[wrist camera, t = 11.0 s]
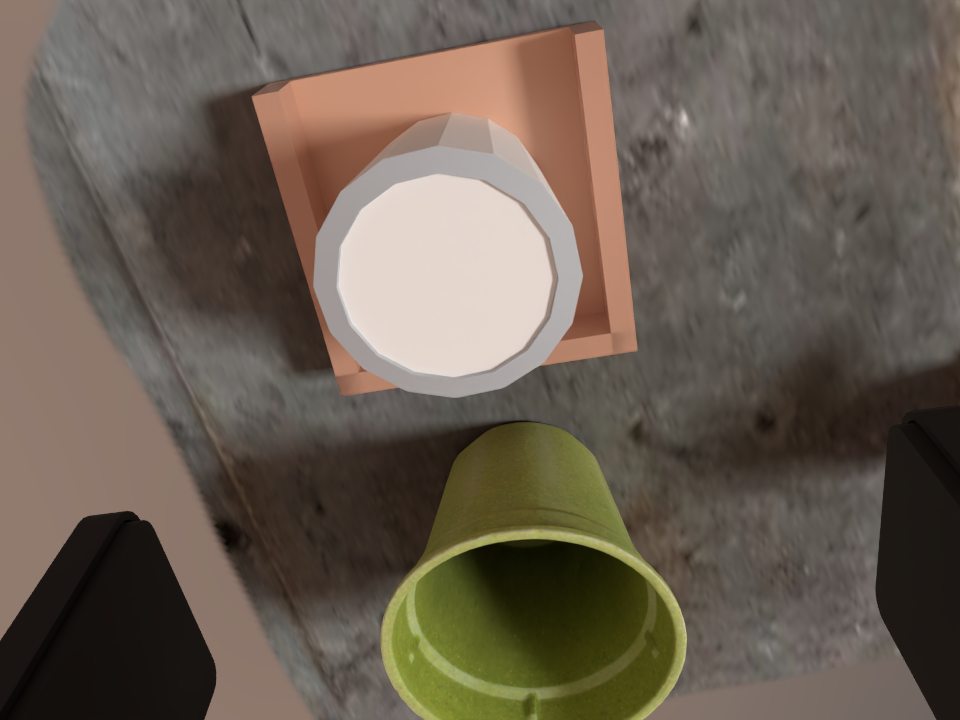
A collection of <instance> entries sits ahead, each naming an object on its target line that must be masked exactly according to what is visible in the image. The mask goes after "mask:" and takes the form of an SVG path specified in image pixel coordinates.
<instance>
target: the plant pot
mask: <svg viewBox="0 0 960 720" xmlns="http://www.w3.org/2000/svg"><path fill="white" fill-rule="evenodd" d="M686 635H687V634H686V628H685V623H684V619H683V616H682V613H681V610H680V607H679V605H678V603H677V601H676V599H675V596H674V595H673V593H672V591H671V590H670V588H669V586H668V585H667V584H666V583H665V581H664V580H663V579H662V577H661V576H660V575H659V574H658V573H657V572H656V571H655V570H654V569H653V568H652V567H651V566H650V565H649V564H648V563H647V562H645V561H644V559H643V558H642V557H641V555H640V554H639V553H638V552H637V551H636V550H635V548H634V546H633V544H632V542H631V539H630V537H629V534H628V532H627V530H626V528H625V525H624V523H623V521H622V518H621V516H620V514H619V511H618V509H617V507H616V504H615V502H614V500H613V497H612V495H611V492H610V490H609V488H608V485H607V483H606V480H605V478H604V476H603V473H602V471H601V469H600V466H599V464H598V462H597V460H596V458H595V457H594V455H593V454H592V453H591V452H590V451H589V450H588V449H587V448H586V447H585V446H584V445H583V444H581V443H580V442H579V441H578V440H577V439H576V438H574V437H573V436H572V435H571V434H570V433H568V432H567V431H564V430H562V429H560V428H558V427H555V426H552V425H547V424H543V423H535V422H517V423H510V424H505V425H501V426H497V427H495V428H492V429H490V430H488V431H486V432H485V433H483V434H482V435H481V436H480V437H479V438H477V439H476V440H475V441H474V442H472V443H471V444H470V445H469V446H468V447H466V448H465V449H464V450H463V451H462V452H460V453H459V455H458V456H457V458H456V459H455V461H454V463H453V466H452V468H451V471H450V474H449V477H448V480H447V483H446V486H445V489H444V493H443V496H442V499H441V502H440V505H439V509H438V512H437V515H436V518H435V521H434V524H433V527H432V531H431V534H430V537H429V540H428V543H427V546H426V549H425V552H424V554H423V555H422V557H421V558H420V559H419V561H418V562H417V564H416V566H415V567H414V568H413V569H412V570H411V571H410V572H409V573H408V574H407V575H406V576H405V577H404V578H403V579H402V581H401V582H400V583H399V585H398V586H397V588H396V589H395V591H394V593H393V595H392V596H391V598H390V600H389V603H388V605H387V608H386V610H385V614H384V617H383V621H382V626H381V635H380V645H381V653H382V659H383V663H384V666H385V669H386V672H387V675H388V678H389V680H390V681H391V683H392V685H393V687H394V688H395V689H396V691H397V692H398V694H399V695H400V697H401V698H402V699H403V701H404V702H405V703H406V704H407V705H408V706H409V707H410V708H411V709H412V710H413V711H414V712H415V713H416V714H417V715H419V716H420V717H421V718H423V719H424V720H643V719H644V718H646V717H647V716H648V715H649V714H650V713H651V712H653V710H655V709H656V708H657V707H658V706H659V705H660V704H661V703H662V702H663V700H664V699H665V698H666V697H667V696H668V694H669V693H670V691H671V690H672V688H673V687H674V685H675V683H676V681H677V679H678V677H679V675H680V673H681V670H682V668H683V664H684V661H685V656H686V641H687V636H686Z"/></svg>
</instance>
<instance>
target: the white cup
mask: <svg viewBox="0 0 960 720" xmlns="http://www.w3.org/2000/svg"><path fill="white" fill-rule="evenodd" d="M582 278H583V273H582V269H581V264H580V259H579V254H578V249H577V244H576V239H575V235H574V230H573V226H572V224H571V222H570V221H569V219H568V217H567V216H566V214H565V212H564V210H563V209H562V207H561V205H560V203H559V202H558V200H557V198H556V196H555V195H554V193H553V191H552V190H551V188H550V186H549V184H548V183H547V181H546V179H545V177H544V176H543V174H542V172H541V170H540V169H539V167H538V165H537V164H536V162H535V161H534V159H533V158H532V157H531V155H530V154H529V152H528V151H527V150H526V148H525V147H524V145H523V144H522V143H521V141H520V140H519V138H518V137H517V136H516V135H514V134H512V133H511V132H509V131H508V130H506V129H504V128H503V127H501V126H499V125H498V124H496V123H495V122H493V121H491V120H490V119H488V118H484V117H478V116H471V115H465V114H459V113H448V114H444V115H441V116H437V117H433V118H429V119H425V120H421V121H418V122H417V123H415V124H414V125H413V126H411V127H410V128H409V129H407V130H406V131H405V132H404V133H402V134H401V135H400V136H398V137H397V138H396V139H394V140H393V141H392V142H391V143H390V144H389V145H388V146H387V147H386V148H385V149H384V150H383V151H382V152H380V153H379V154H378V155H377V156H376V157H375V158H374V159H373V160H372V161H371V162H370V163H369V164H368V165H367V166H366V167H365V168H364V169H363V170H362V171H361V172H360V173H359V174H358V175H357V176H356V177H355V178H354V179H353V180H352V181H351V182H350V183H349V184H348V185H347V186H346V187H345V188H344V189H343V190H342V191H341V192H340V193H339V195H338V197H337V199H336V201H335V203H334V205H333V206H332V208H331V210H330V212H329V214H328V216H327V218H326V220H325V221H324V223H323V225H322V227H321V229H320V231H319V233H318V235H317V236H316V248H315V264H314V281H313V287H314V290H315V293H316V296H317V298H318V301H319V304H320V306H321V309H322V312H323V315H324V317H325V320H326V323H327V325H328V328H329V331H330V333H331V334H332V335H333V336H334V337H335V338H336V339H337V341H338V342H339V343H340V344H341V345H342V346H343V347H344V348H345V349H346V350H347V352H348V353H349V354H350V355H351V356H352V357H353V358H354V359H355V360H356V361H357V363H358V364H359V365H360V366H361V367H362V368H363V369H365V370H367V371H368V372H370V373H372V374H374V375H376V376H378V377H380V378H382V379H384V380H386V381H388V382H390V383H392V384H394V385H396V386H398V387H399V388H401V389H403V390H405V391H408V392H416V393H423V394H430V395H438V396H445V397H452V398H458V397H463V396H467V395H472V394H477V393H482V392H487V391H491V390H496V389H501V388H504V387H506V386H507V385H509V384H511V383H512V382H514V381H515V380H517V379H519V378H520V377H522V376H523V375H525V374H527V373H528V372H530V371H531V370H533V369H534V368H536V367H538V366H539V365H541V364H542V363H544V362H545V361H546V359H547V358H548V357H549V355H550V354H551V352H552V351H553V350H554V348H555V347H556V345H557V344H558V343H559V341H560V340H561V339H562V337H563V336H564V334H565V333H566V332H567V330H568V329H569V328H570V326H571V325H572V323H573V319H574V314H575V310H576V305H577V301H578V296H579V292H580V287H581V283H582Z"/></svg>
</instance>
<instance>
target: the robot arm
mask: <svg viewBox="0 0 960 720" xmlns="http://www.w3.org/2000/svg"><path fill="white" fill-rule="evenodd" d="M876 600H877V604H878V608H879V611H880V614H881V617H882V619H883V621H884V623H885V625H886V627H887V629H888V631H889V632H890V634H891V636H892V638H893V640H894V642H895V644H896V645H897V647H898V649H899V651H900V653H901V655H902V656H903V658H904V660H905V662H906V664H907V666H908V668H909V669H910V671H911V673H912V675H913V677H914V679H915V681H916V682H917V684H918V686H919V688H920V690H921V692H922V693H923V695H924V697H925V699H926V701H927V703H928V705H929V707H930V708H931V710H932V712H933V714H934V716H935V718H936V719H937V720H960V406H948V407H940V408H932V409H924V410H916V411H909V412H908V413H906V414H905V416H904V418H903V421H902V425H894V426H892V427H891V428H890V430H889V434H888V442H887V454H886V466H885V479H884V491H883V503H882V515H881V528H880V540H879V552H878V564H877V577H876ZM215 686H216V667H215V663H214V660H213V658H212V655H211V653H210V651H209V649H208V647H207V644H206V642H205V640H204V638H203V636H202V633H201V631H200V629H199V627H198V625H197V622H196V620H195V618H194V616H193V614H192V611H191V609H190V607H189V605H188V603H187V600H186V598H185V596H184V594H183V592H182V589H181V587H180V585H179V583H178V581H177V578H176V576H175V574H174V572H173V570H172V567H171V565H170V563H169V561H168V559H167V556H166V554H165V552H164V550H163V548H162V545H161V543H160V541H159V539H158V537H157V535H156V532H155V530H154V528H153V527H152V525H151V524H150V523H149V522H148V521H145V520H142V521H140V519H139V517H138V516H137V515H135V513H133V512H130V511H124V512H116V513H108V514H100V515H92V516H88V517H85V518H83V519H82V520H81V521H80V522H79V523H78V525H77V526H76V528H75V529H74V531H73V532H72V534H71V535H70V537H69V538H68V540H67V541H66V543H65V544H64V546H63V547H62V549H61V550H60V552H59V553H58V555H57V556H56V558H55V559H54V561H53V562H52V564H51V565H50V567H49V568H48V570H47V571H46V573H45V574H44V576H43V577H42V579H41V580H40V582H39V583H38V585H37V587H36V588H35V589H34V591H33V592H32V594H31V595H30V597H29V598H28V600H27V601H26V603H25V604H24V606H23V607H22V609H21V610H20V612H19V613H18V615H17V616H16V618H15V619H14V621H13V622H12V624H11V626H10V627H9V628H8V630H7V631H6V633H5V634H4V636H3V637H2V639H1V641H0V720H204V719H205V716H206V713H207V710H208V707H209V705H210V702H211V699H212V696H213V693H214V689H215Z"/></svg>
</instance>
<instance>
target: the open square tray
mask: <svg viewBox="0 0 960 720" xmlns="http://www.w3.org/2000/svg"><path fill="white" fill-rule="evenodd" d="M252 100H253V103H254V106H255V110H256V113H257V116H258V120H259V123H260V126H261V130H262V133H263V136H264V140H265V143H266V146H267V150H268V153H269V156H270V160H271V163H272V166H273V170H274V173H275V176H276V180H277V183H278V186H279V190H280V193H281V196H282V200H283V203H284V206H285V210H286V213H287V216H288V220H289V223H290V226H291V229H292V233H293V236H294V239H295V243H296V246H297V249H298V253H299V256H300V259H301V263H302V266H303V269H304V273H305V276H306V279H307V283H308V286H309V289H310V293H311V296H312V299H313V303H314V306H315V309H316V313H317V316H318V319H319V323H320V326H321V329H322V333H323V336H324V339H325V343H326V346H327V349H328V353H329V356H330V359H331V363H332V366H333V369H334V373H335V376H336V379H337V383H338V386H339V389H340V393H341V396H347V395H353V394H360V393H366V392H373V391H379V390H386V389H392V388H399V387H398V386H396V385H394V384H392V383H390V382H388V381H386V380H384V379H382V378H380V377H378V376H376V375H374V374H372V373H370V372H368V371H367V370H365V369H363V368H362V367H361V366H360V365H359V364H358V363H357V361H356V360H355V359H354V358H353V357H352V356H351V355H350V354H349V353H348V352H347V350H346V349H345V348H344V347H343V346H342V345H341V344H340V343H339V342H338V341H337V339H336V338H335V337H334V336H333V335H332V334H331V333H330V331H329V328H328V325H327V323H326V320H325V317H324V315H323V312H322V309H321V306H320V304H319V301H318V298H317V296H316V293H315V290H314V287H313V281H314V264H315V248H316V236H317V235H318V233H319V231H320V229H321V227H322V225H323V223H324V221H325V220H326V218H327V216H328V214H329V212H330V210H331V208H332V206H333V205H334V203H335V201H336V199H337V197H338V195H339V193H340V192H341V191H342V190H343V189H344V188H345V187H346V186H347V185H348V184H349V183H350V182H351V181H352V180H353V179H354V178H355V177H356V176H357V175H358V174H359V173H360V172H361V171H362V170H363V169H364V168H365V167H366V166H367V165H368V164H369V163H370V162H371V161H372V160H373V159H374V158H375V157H376V156H377V155H378V154H379V153H380V152H382V151H383V150H384V149H385V148H386V147H387V146H388V145H389V144H390V143H391V142H392V141H393V140H394V139H396V138H397V137H398V136H400V135H401V134H402V133H404V132H405V131H406V130H407V129H409V128H410V127H411V126H413V125H414V124H415V123H417V122H418V121H421V120H425V119H429V118H433V117H437V116H441V115H444V114H448V113H459V114H465V115H471V116H478V117H484V118H488V119H490V120H491V121H493V122H495V123H496V124H498V125H499V126H501V127H503V128H504V129H506V130H508V131H509V132H511V133H512V134H514V135H516V136H517V137H518V138H519V140H520V141H521V143H522V144H523V145H524V147H525V148H526V150H527V151H528V152H529V154H530V155H531V157H532V158H533V159H534V161H535V162H536V164H537V165H538V167H539V169H540V170H541V172H542V174H543V176H544V177H545V179H546V181H547V183H548V184H549V186H550V188H551V190H552V191H553V193H554V195H555V196H556V198H557V200H558V202H559V203H560V205H561V207H562V209H563V210H564V212H565V214H566V216H567V217H568V219H569V221H570V222H571V224H572V226H573V230H574V235H575V239H576V244H577V249H578V254H579V259H580V264H581V269H582V273H583V278H582V283H581V287H580V292H579V296H578V301H577V305H576V310H575V314H574V319H573V323H572V325H571V326H570V328H569V329H568V330H567V332H566V333H565V334H564V336H563V337H562V339H561V340H560V341H559V343H558V344H557V345H556V347H555V348H554V350H553V351H552V352H551V354H550V355H549V357H548V358H547V359H546V361H545V362H544V363H542V364H541V365H548V364H554V363H561V362H567V361H574V360H580V359H587V358H593V357H600V356H606V355H613V354H619V353H626V352H632V351H637V342H636V332H635V323H634V313H633V304H632V294H631V285H630V276H629V266H628V257H627V247H626V238H625V228H624V219H623V210H622V200H621V191H620V181H619V172H618V162H617V153H616V144H615V134H614V125H613V115H612V106H611V96H610V87H609V78H608V68H607V59H606V49H605V40H604V31H603V28H602V27H601V26H600V25H599V24H598V23H597V22H596V21H590V22H585V23H580V24H574V25H569V26H564V27H559V28H553V29H548V30H543V31H538V32H533V33H527V34H522V35H517V36H512V37H507V38H501V39H496V40H491V41H486V42H481V43H475V44H470V45H465V46H460V47H455V48H449V49H444V50H439V51H434V52H429V53H423V54H418V55H413V56H408V57H403V58H397V59H392V60H387V61H382V62H377V63H371V64H366V65H361V66H356V67H350V68H345V69H340V70H335V71H330V72H324V73H319V74H314V75H309V76H304V77H298V78H293V79H288V80H283V81H278V82H272V83H269V84H267V85H266V86H265V87H263V88H262V89H261V90H259V91H258V92H257V93H255V94H254V95H253V96H252ZM541 365H539V366H541Z"/></svg>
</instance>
